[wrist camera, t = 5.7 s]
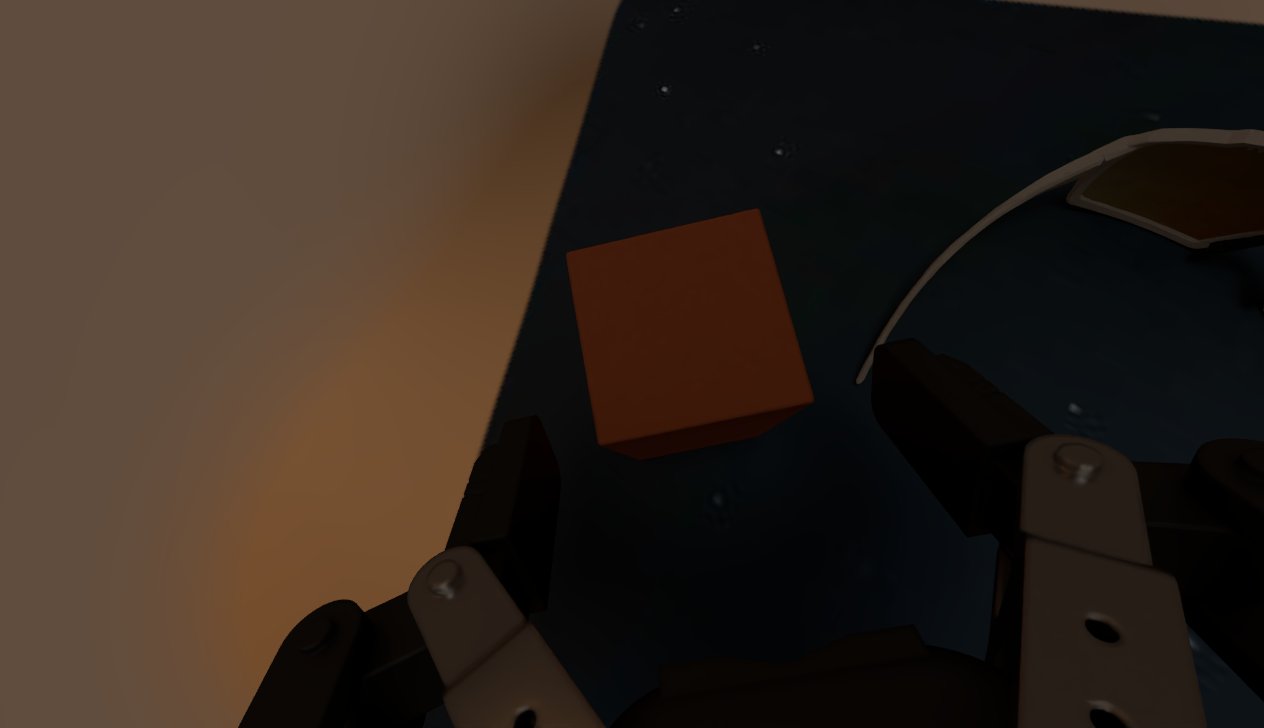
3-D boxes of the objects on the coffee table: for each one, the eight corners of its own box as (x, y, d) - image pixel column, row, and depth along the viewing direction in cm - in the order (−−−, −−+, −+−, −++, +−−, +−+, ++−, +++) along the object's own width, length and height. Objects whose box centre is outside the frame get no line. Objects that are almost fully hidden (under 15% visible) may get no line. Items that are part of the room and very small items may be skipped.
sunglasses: (1439, 404, 17) (1716, 391, 12) (1058, 640, 18) (1167, 711, 14) (1107, 134, 20) (1216, 41, 16) (811, 349, 22) (829, 324, 17)
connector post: (638, 460, 20) (597, 446, 11) (616, 345, 21) (564, 251, 12) (759, 436, 19) (816, 402, 11) (730, 320, 21) (759, 206, 12)
